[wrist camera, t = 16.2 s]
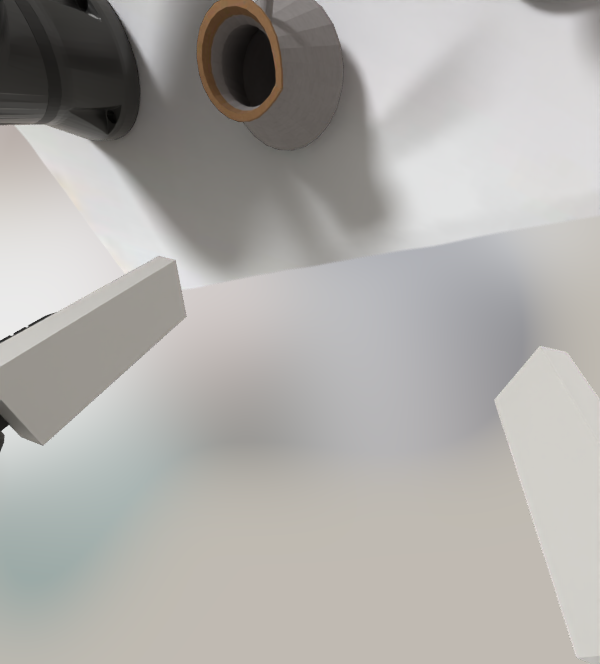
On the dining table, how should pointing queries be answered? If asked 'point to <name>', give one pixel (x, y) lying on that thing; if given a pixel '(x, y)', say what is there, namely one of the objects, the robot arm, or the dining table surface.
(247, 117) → the coffee pot
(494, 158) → the dining table surface
